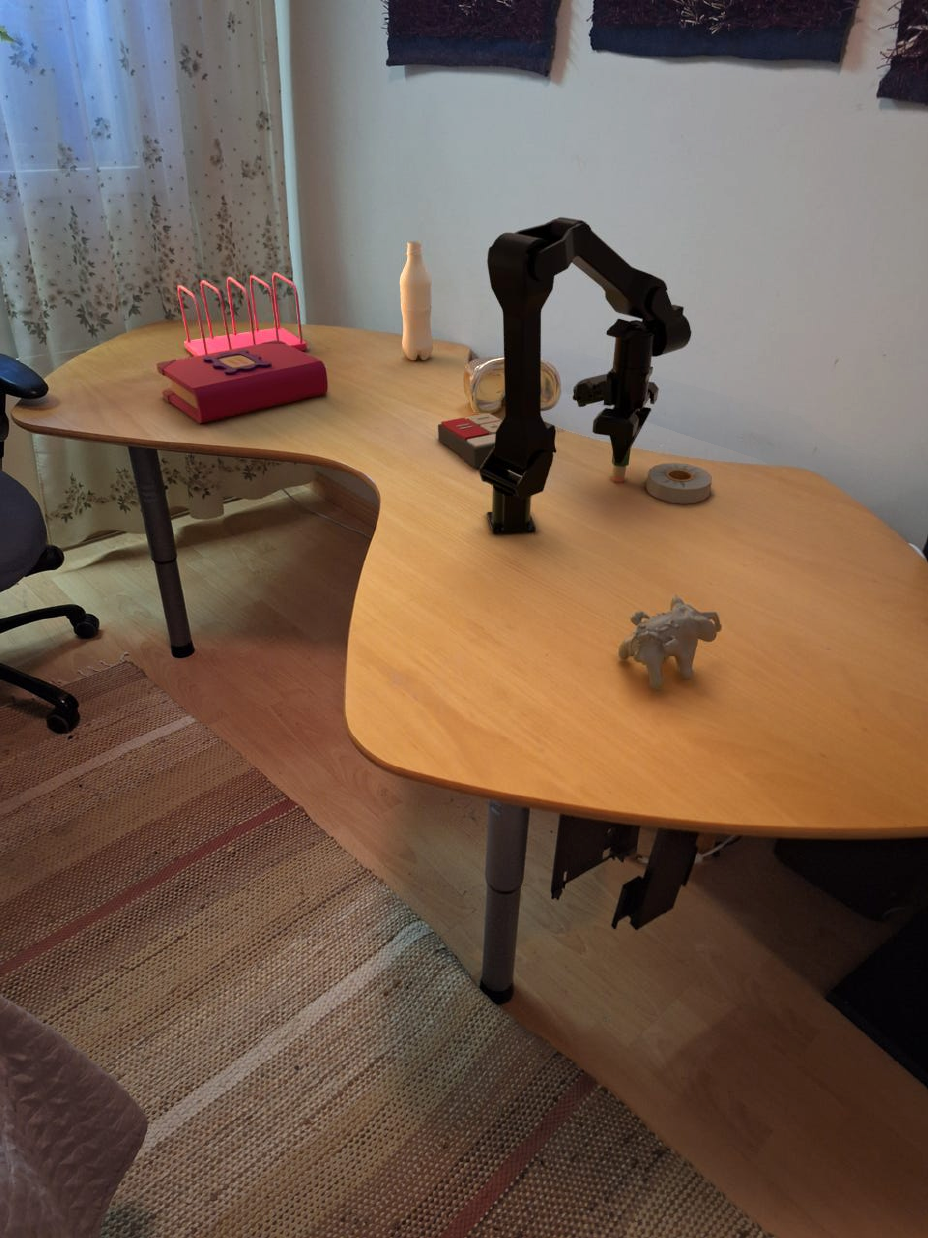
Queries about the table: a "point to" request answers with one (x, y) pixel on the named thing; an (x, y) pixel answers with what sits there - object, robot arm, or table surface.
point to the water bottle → (416, 305)
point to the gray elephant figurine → (669, 639)
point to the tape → (679, 483)
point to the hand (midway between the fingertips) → (621, 457)
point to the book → (242, 380)
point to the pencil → (620, 468)
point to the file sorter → (234, 340)
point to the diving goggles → (503, 385)
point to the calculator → (470, 436)
